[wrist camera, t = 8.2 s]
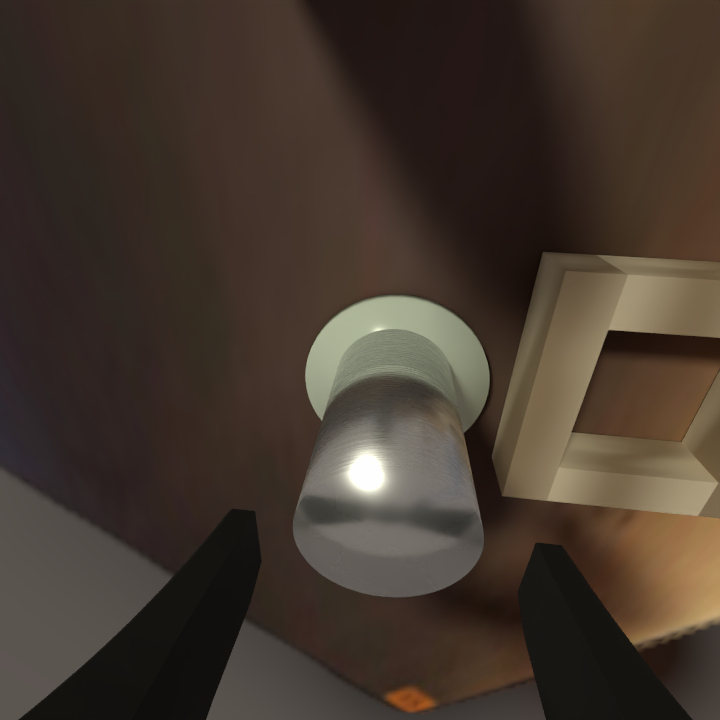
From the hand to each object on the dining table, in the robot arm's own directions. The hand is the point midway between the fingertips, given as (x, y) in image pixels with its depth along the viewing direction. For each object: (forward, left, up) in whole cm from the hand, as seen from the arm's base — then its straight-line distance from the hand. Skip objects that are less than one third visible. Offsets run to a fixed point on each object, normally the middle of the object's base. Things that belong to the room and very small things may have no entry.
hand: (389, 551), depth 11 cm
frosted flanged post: (0, 0, -8) cm, 8 cm away
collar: (-10, -1, -9) cm, 13 cm away
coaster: (0, 0, -9) cm, 9 cm away
